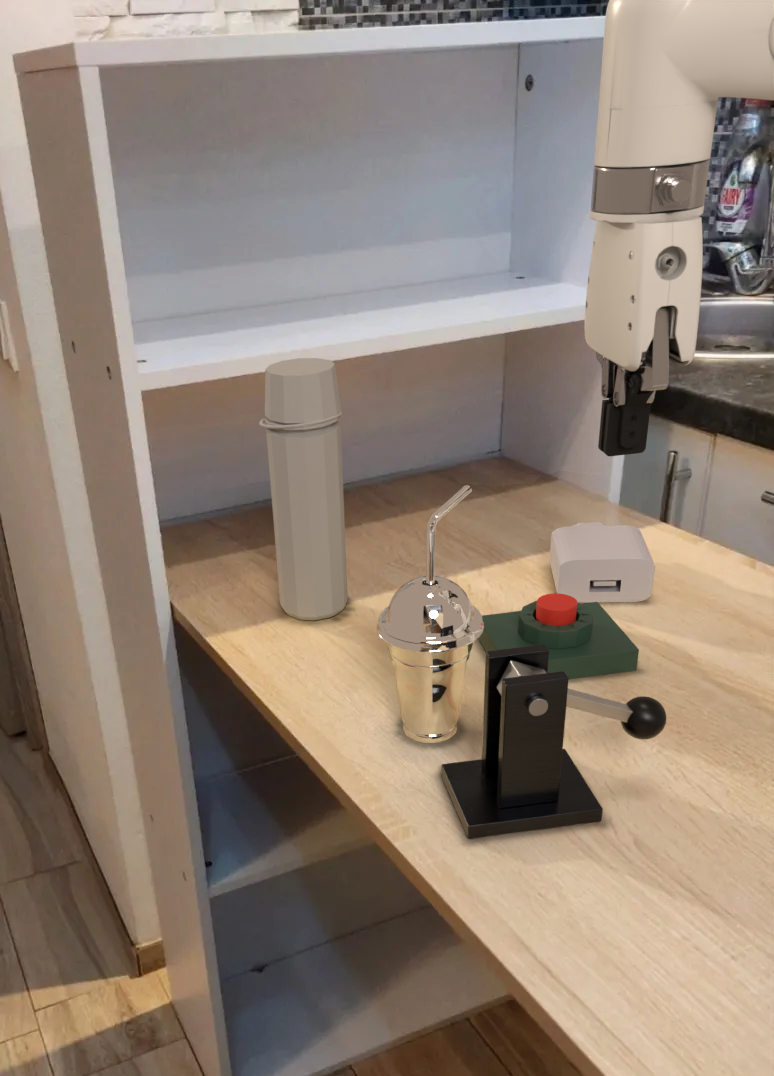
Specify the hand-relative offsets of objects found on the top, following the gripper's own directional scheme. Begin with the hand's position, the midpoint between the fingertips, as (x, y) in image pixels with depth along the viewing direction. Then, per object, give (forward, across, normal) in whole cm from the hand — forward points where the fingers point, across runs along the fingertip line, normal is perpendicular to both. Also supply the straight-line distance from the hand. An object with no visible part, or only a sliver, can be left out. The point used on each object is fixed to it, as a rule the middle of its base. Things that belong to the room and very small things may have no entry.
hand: (621, 451), depth 81 cm
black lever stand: (+21, -15, +12) cm, 29 cm away
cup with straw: (+21, -4, +16) cm, 27 cm away
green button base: (+21, +6, +2) cm, 22 cm away
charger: (+21, +22, -8) cm, 32 cm away
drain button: (+18, +6, +2) cm, 19 cm away
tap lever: (+15, -15, +8) cm, 22 cm away
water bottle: (+21, +22, +23) cm, 38 cm away
